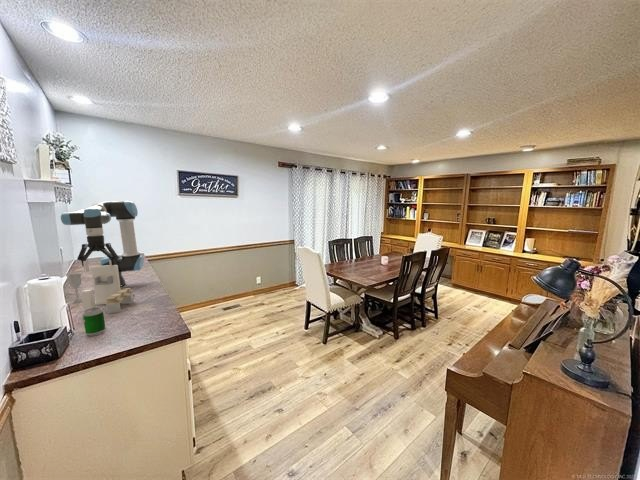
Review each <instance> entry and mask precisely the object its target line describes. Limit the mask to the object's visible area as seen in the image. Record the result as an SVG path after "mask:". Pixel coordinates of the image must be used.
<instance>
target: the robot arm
mask: <svg viewBox="0 0 640 480" xmlns="http://www.w3.org/2000/svg"><path fill="white" fill-rule="evenodd" d="M136 217H138V208H137V206H136V204H135V202H133V201H130V200H107V201H102V202H99V203H98V202H97V203H95V204H94V203H93V204H92V205H91V206H90V207H87V208H84V209H80V210H76V211H68V212H67V211H66V212H62V213H61V215H60V221H61V222H62V224H63V225H64V226H75V225H77V226H82V225H85V226H84V227H85V233H86V234H85V235H86V241H87V243H83V244H81V248H80V251H79V254H78V256H77V259H76V260H77V261H81V266H82V267H83V270H84V272H83V273H87V272H90V266H89V260H88V259H89V257H90V255H92V253H93V252H102V254H104V255H105V256H106V257H105V256H104V257H102V258H101V259H100V266H106V265H110V271H113V270H115V269H114V265H118V271H119V279H120V286H121V285H124V284H125V283H126V280H125V277H124V276H123V274H122V273H127V272H136V271H137V272H138V271H140V270H142V269H143V266H144V262H145V261H144V256H143V255H141V253H140V252H139V251H138V249H137V248H138V247H137V241H136V240H137V239H136V233H135V226H134V224H135V223H134V221H135V219H136ZM112 218H115V219H116V221H117V222H119V230H120V236H121V243H122V249H123V253H122V254H121V256H120V254H117V252H116V251H115V249H114V248H113V247H112V245H111V244H112V243H110V242H107V243H105V235H104V229H103V228H104V227H103V225H105V224H108V223H110V222H111V220H112ZM87 249H88V250H87ZM125 285H126V284H125ZM125 285H124V286H125ZM121 287H122V286H121Z"/></svg>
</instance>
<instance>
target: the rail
mask: <svg viewBox="0 0 640 480" xmlns="http://www.w3.org/2000/svg"><path fill="white" fill-rule="evenodd" d="M131 294H132V289H131V287H127V288H126V287H125V288H124V287H123V288H122V289H121V290H120V291H118V292H117V293H115V294H113V295H112V296H110V297H108V298H106V299H107V304H106V305H115V304H117V303H118V302H120V301H121V300H123V299H124V298H126V297H127V296H129V295H131ZM120 303H121V302H120Z"/></svg>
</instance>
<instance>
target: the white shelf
mask: <svg viewBox="0 0 640 480" xmlns="http://www.w3.org/2000/svg"><path fill="white" fill-rule="evenodd" d="M90 268H91V273H92V281H93V288H92V289H84V290H81V291H80V292H81V299H82V300H83V301H82V306H83V313H84V312H85V311H86V310H88V309H91V308H96V306H97V305H99V306H100V305H107V299H106V298H108V297H110V296H112V295H113V294H115V293H117V292H118V291H120V290H122V289H121V287H122V286H121V287H120V279H119V271H118V265H114V269H115V270H113V271H110V265H106V266H101V265H92V266H90ZM118 303H120V304H121V301H120V302H118Z"/></svg>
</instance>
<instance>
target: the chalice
mask: <svg viewBox="0 0 640 480" xmlns="http://www.w3.org/2000/svg"><path fill="white" fill-rule="evenodd" d="M66 277H67V281H68V285H69V286H70V287H71V288H72V289H73V290H74V293H75V298H74V299H73V302H72V303H73V304H78V303H83V300H82V297H79V294H80V293H79V291H78V289H79V288H80V286H81V284H82V273H80V272H79V273H78V272H77V273H71V274H66Z"/></svg>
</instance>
